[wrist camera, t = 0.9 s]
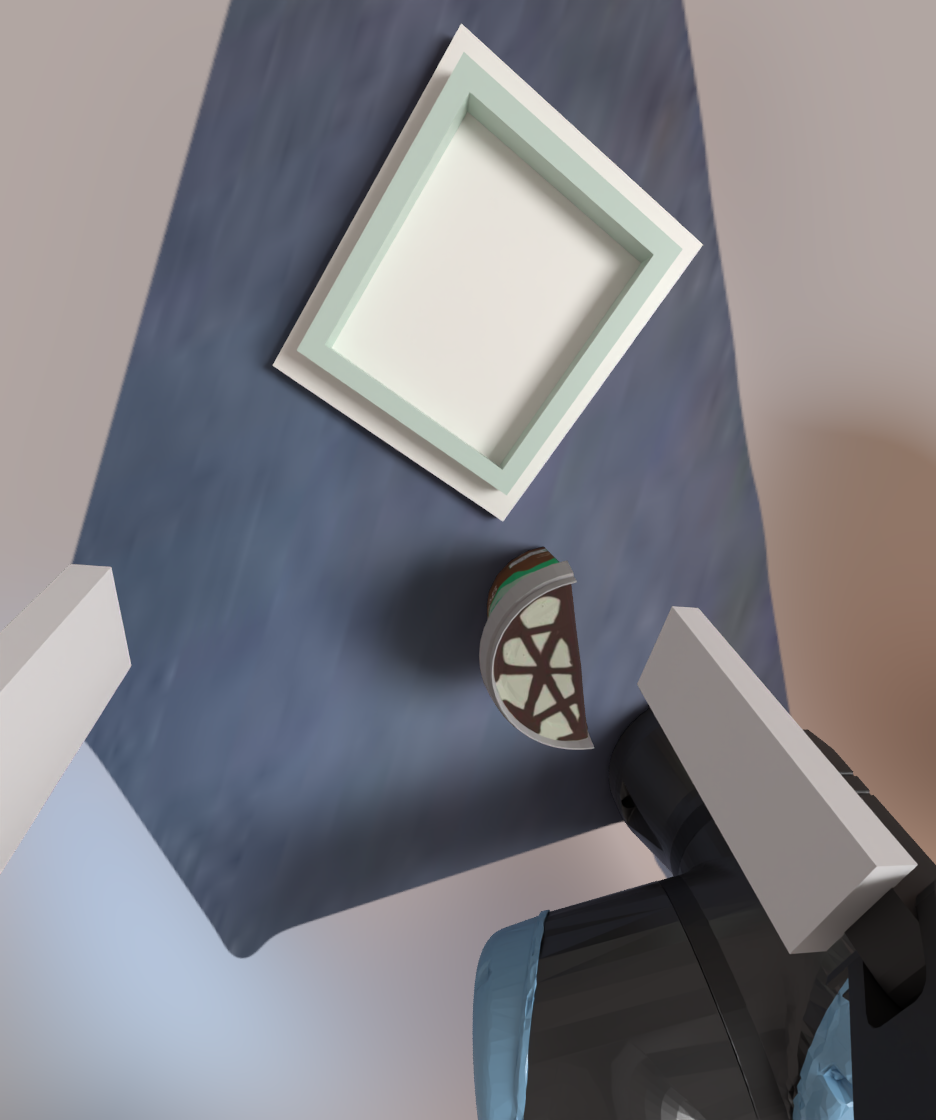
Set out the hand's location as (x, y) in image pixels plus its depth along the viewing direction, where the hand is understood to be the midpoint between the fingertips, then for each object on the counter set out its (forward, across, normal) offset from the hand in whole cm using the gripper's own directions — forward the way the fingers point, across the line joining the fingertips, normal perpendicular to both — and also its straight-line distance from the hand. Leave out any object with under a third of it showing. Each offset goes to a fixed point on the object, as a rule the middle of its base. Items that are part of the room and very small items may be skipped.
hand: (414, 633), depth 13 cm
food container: (+22, -10, +14) cm, 28 cm away
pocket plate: (+26, -5, -6) cm, 27 cm away
